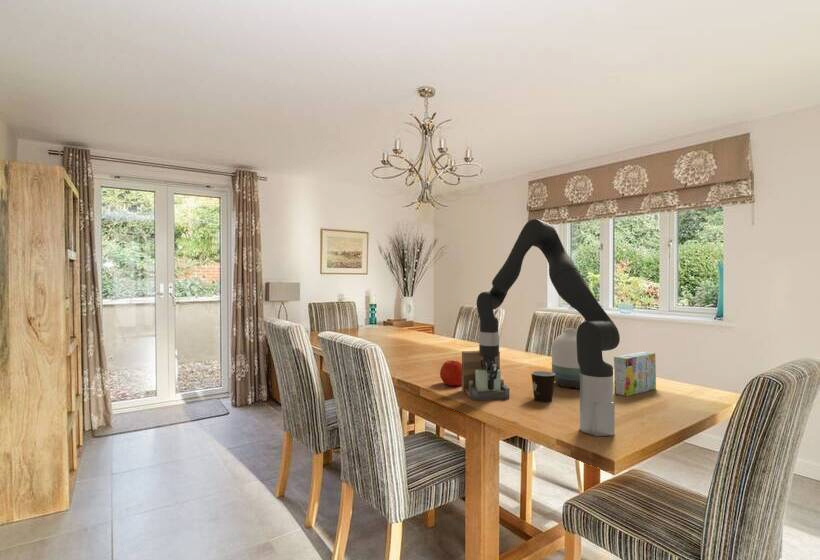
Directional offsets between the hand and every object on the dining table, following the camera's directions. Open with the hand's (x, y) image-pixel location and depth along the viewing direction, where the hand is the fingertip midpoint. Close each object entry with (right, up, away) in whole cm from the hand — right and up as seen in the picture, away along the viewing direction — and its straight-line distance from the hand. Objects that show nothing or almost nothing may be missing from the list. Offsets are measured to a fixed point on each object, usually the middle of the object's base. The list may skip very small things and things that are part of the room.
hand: (489, 388), depth 169 cm
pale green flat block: (-1, -3, 0) cm, 3 cm away
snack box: (+61, -4, +9) cm, 62 cm away
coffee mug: (+20, -4, -2) cm, 20 cm away
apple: (-12, -4, +20) cm, 24 cm away
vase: (+39, -4, +18) cm, 43 cm away
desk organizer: (-1, -4, +4) cm, 5 cm away
